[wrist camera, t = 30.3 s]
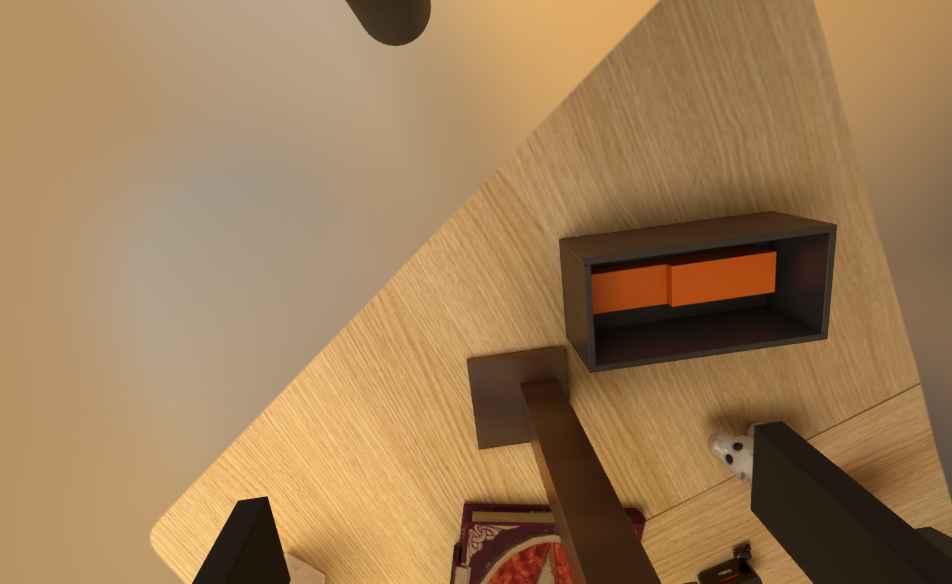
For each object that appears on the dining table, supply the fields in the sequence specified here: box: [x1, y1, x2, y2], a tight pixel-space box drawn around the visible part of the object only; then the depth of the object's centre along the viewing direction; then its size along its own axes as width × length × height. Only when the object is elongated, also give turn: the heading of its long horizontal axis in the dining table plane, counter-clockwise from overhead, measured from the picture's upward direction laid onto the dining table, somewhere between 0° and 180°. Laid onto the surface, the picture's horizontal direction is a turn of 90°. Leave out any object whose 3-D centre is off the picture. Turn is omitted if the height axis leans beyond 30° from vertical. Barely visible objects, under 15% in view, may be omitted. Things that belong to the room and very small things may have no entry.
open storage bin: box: [559, 211, 837, 373], centre depth 47 cm, size 10×21×9 cm, turn 97°
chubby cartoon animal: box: [708, 422, 765, 487], centre depth 53 cm, size 7×12×8 cm, turn 66°
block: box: [591, 245, 776, 314], centre depth 49 cm, size 4×18×3 cm, turn 97°
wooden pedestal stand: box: [467, 346, 698, 584], centre depth 40 cm, size 10×10×30 cm
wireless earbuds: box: [698, 544, 762, 584], centre depth 61 cm, size 5×7×3 cm, turn 114°
